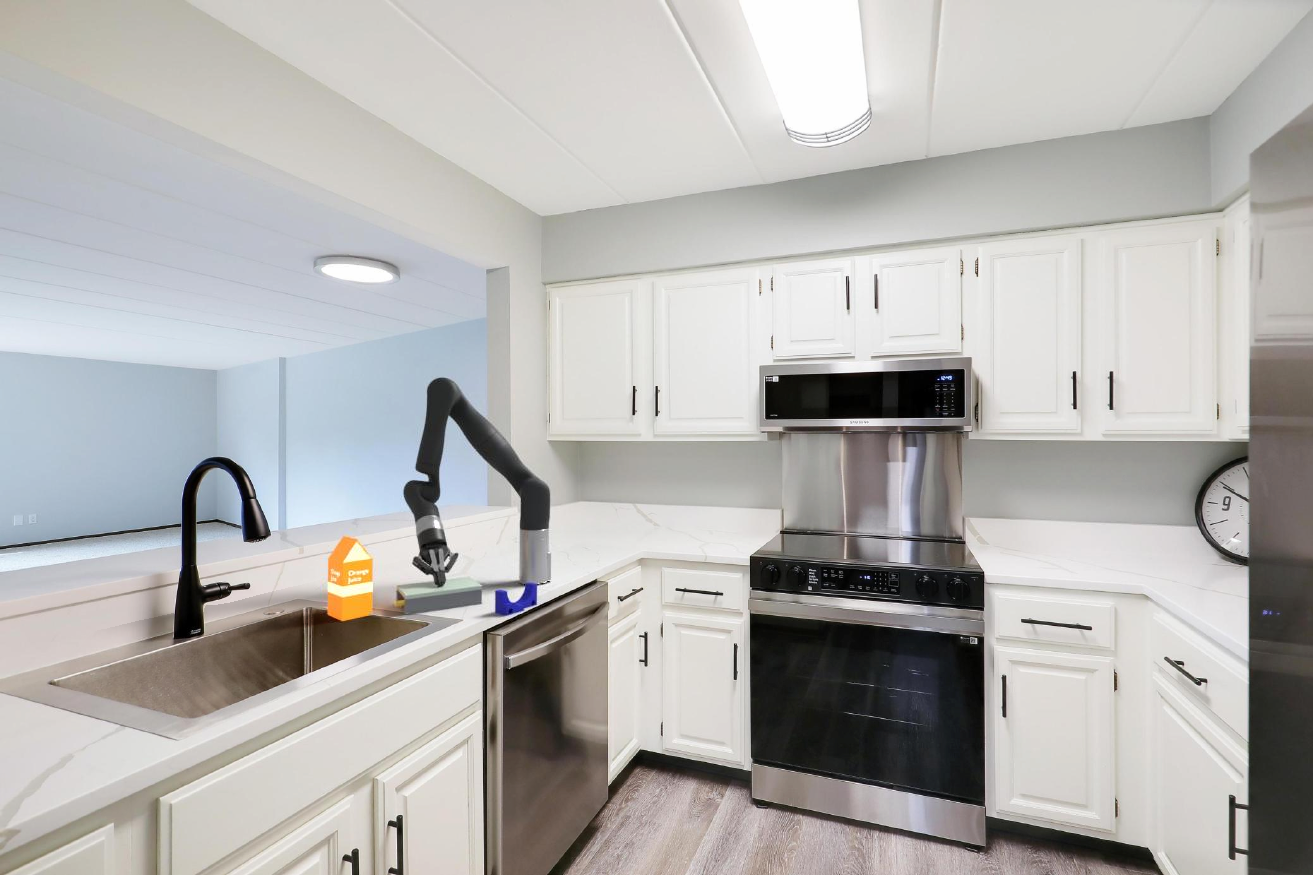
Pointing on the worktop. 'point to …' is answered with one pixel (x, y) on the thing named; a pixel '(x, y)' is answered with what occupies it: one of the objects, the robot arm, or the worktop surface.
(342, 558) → the orange juice
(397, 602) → the cable duct
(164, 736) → the worktop surface
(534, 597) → the blue u-shaped block
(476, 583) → the pale green flat panel
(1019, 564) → the worktop surface
